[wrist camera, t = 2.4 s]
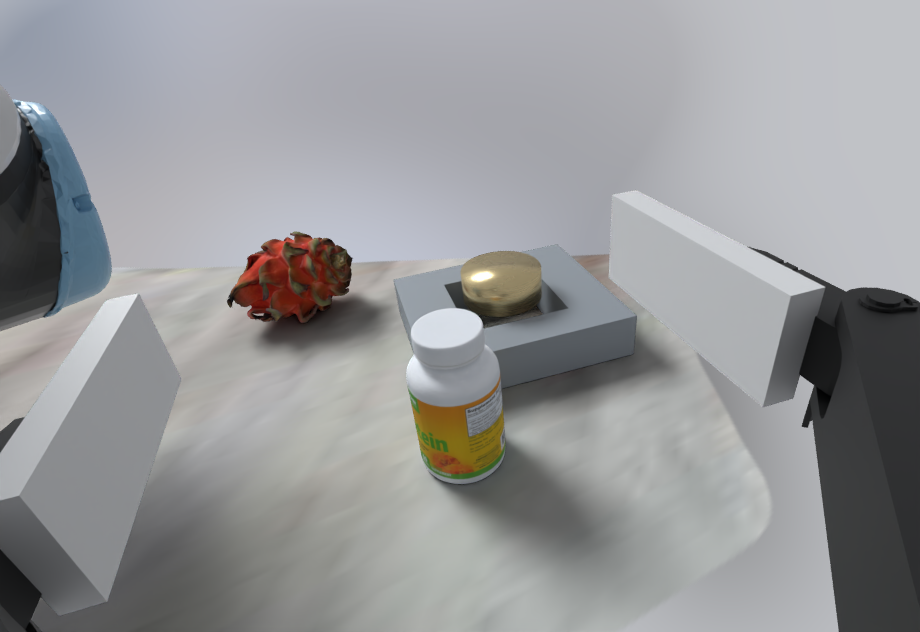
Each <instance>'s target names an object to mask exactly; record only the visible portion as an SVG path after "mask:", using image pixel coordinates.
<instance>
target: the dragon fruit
mask: <svg viewBox="0 0 920 632" xmlns="http://www.w3.org/2000/svg"><path fill="white" fill-rule="evenodd" d="M290 235H293V236H295V238H294V240H292V239H290V238H288V237H287V238H285V240H284V241H280V240H277V239H273V240H270V241H267V242H266V243H264V244H263V245H262V246H261V248H262V249H263V251H260V252H257V253H255V254H252V255H250V256H249V257H248V258H247V259H248V263H247V266H246V269H245V271H244V273H243V274H242V275H241V276H240V278H239V280H238V283H237V284H235V285H236V286H235V287H234V288H233V289H232V291H231V294H230V295H229V297H230V299H228V300H227V303H228V305H229V307H230V308H231V307H232V302H233V300H234V301H235V302H236V303H237V304H240V305H241V307H242V306H243V307H247V306H250V305H251V306H252V308H251V309H250V310H249V311H248V312H247V315H248V316H249V317H250V318H251V319H255V320H256V319H261V320H262V321H263V322H266V321H270V320H273V319H274V320H275V321H278V320H279V318H280V317H282V318H285V317H289V316H291V315H293V314H296V315H297V316H298V319H299V321H300V322H301V323H306V322H307V321H308V320H309V319H310V318H311V317H313V316H314V315H315V314H316V310H317V309H319V310H321V311H324V310H326V309H327V308H329V307H330V305H331V302H332V296H342V295H345V294H346V293H348V292H349V289H348V288H347V287H348V286H349V285H350V281H351V275H352V273H351V268H350V267H351V262H352V258H351V257H350V256H349V255H348V253H347V250H345V249H343V248H342V247H340V246H338V245H336V246H335V244H334V243H333V241H332V240H330V239H328V238H323V239H322V238H314V239H312V237H311V236H309V235H307V234H303V233H300V232H293V233H290ZM346 288H347V289H346ZM311 309H312V311H311V313H310V315H308V314H309V312H310V310H311ZM253 313H254V314H259V313H264V315H263V316H256V315H254V314H253ZM271 317H273V318H271Z"/></svg>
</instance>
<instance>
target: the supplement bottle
mask: <svg viewBox="0 0 920 632" xmlns="http://www.w3.org/2000/svg"><path fill="white" fill-rule="evenodd" d="M411 340H412V346H413V351H414V356H413V357H412V358H411V360H410V362H409V364H408V367H407V371H406V378H407V385H408V390H409V394H410V399H411V404H412V409H413V414H414V419H415V424H416V429H417V435H418V440H419V445H420V450H421V455H422V459H423V462H424V464H425V466H426V468H427V469H428V471H429V472H430V473H431V474H432V475H434V476H435V477H437V478H438V479H440V480H442V481H445V482H449V483H455V484H467V483H473V482H477V481H479V480H482V479H484V478H486V477H487V476H489V475H490V474H492V473H493V472H494V471H495V470H496V469H497V468H498V467H499V465H500V464H501V462H502V460H503V458H504V455H505V430H504V418H503V403H502V392H501V379H500V369H499V363H498V359H497V357H496V355H495V354H494V352H493V351H492V350H491V349H490V348H489V347H488V346H487V345H485V335H484V328H483V322H482V320H481V319H480V317H479V316H478V315H476V314H475V313H473V312H471V311H468V310H465V309H458V308H447V309H441V310H436V311H433V312H430V313H428V314H426V315H424V316H422V317H421V318H419V319H418V320H417V321H416V322H415V323H414V325H413V326H412V329H411Z"/></svg>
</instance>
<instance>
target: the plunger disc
mask: <svg viewBox="0 0 920 632" xmlns="http://www.w3.org/2000/svg"><path fill="white" fill-rule="evenodd" d="M460 273H461V282H462V290H463V299H464V303H465V305H466V306H467V307H468V308H469V309H470V310H471V311H473V312H475V313H478V314H481V315H485V316H491V317H506V316H513V315H517V314H521V313H524V312H526V311H528V310H530V309H532V308H534V307H535V306H536V305H537V304H538V303H539V302H540V300H541V298H542V277H541V264H540V262H539V261H538V260H537V259H536V258H534V257H533V256H531V255H528V254H525V253H521V252H514V251H498V252H491V253H486V254H482V255H479V256H477V257H474V258H472V259H471V260H469V261H467V262H466V263H465V264H464V265H463V266H462V268H461V272H460Z"/></svg>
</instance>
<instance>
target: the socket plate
mask: <svg viewBox="0 0 920 632" xmlns="http://www.w3.org/2000/svg"><path fill="white" fill-rule="evenodd" d="M521 253H525V254H528V255H531V256H533V257H534V258H536V259H537V260H538V261H539V262H540V264H541V277H542V298H541V300H540V302H539V303H538V304H537V305H536V306H537V307H538V308H539V310H540V311H541V312H542V313H543V315H539V316H534V317H530V318H526V319H522V320H518V321H514V322H509V323H505V324H501V325H497V326H493V327H489V328H484V335H485V345H487V346H488V347H489V348H490V349H491V350H492V351H493V352H494V354H495V355H496V357H497V359H498V363H499V369H500V379H501V389H502V388H506V387H510V386H513V385H517V384H521V383H525V382H529V381H533V380H536V379H540V378H544V377H548V376H552V375H555V374H559V373H563V372H567V371H571V370H574V369H578V368H582V367H586V366H590V365H594V364H597V363H601V362H605V361H609V360H613V359H616V358H620V357H624V356H628V355H632V354H633V353H634V342H635V331H636V320H637V315H636V314H634V313H633V312H632V311H631V310H630V309H629V308H628V307H627V306H626V305H624V304H623V303H622V302H621V301H620V300H619V299H618V298H617V297H616V296H614V295H613V294H612V293H611V292H610V291H609V290H608V289H607V288H606V287H604V286H603V285H602V284H601V283H600V282H599V281H598V280H597V279H595V278H594V277H593V276H592V275H591V274H590V273H589V272H588V271H587V270H585V269H584V268H583V267H582V266H581V265H580V264H579V263H578V262H577V261H575V260H574V259H573V258H572V257H571V256H570V255H569V254H568V253H567V252H565V251H564V250H563V249H562V248H561V247H560V246H559V245H558V244H556V245H551V246H547V247H542V248H538V249H533V250H528V251H524V252H521ZM462 266H463V265H459V266H454V267H450V268H445V269H440V270H436V271H431V272H427V273H422V274H417V275H413V276H408V277H404V278H399V279H394V285H395V290H396V295H397V300H398V306H399V311H400V314H401V317H402V320H403V323H404V326H405V329H406V332H407V335H408V338H409V341H410V344H411V347H412V350H413V346H412V340H411V329H412V326H413V325H414V323H415V322H416V321H417V320H418V319H419V318H421V317H422V316H424V315H426V314H428V313H430V312H433V311H436V310H441V309H447V308H458V309H465V310H468V311H471V310H470V309H469V308H468V307H467V306H466V305H465V303H464V299H463V290H462V282H461V273H460V272H461V268H462ZM471 312H473V311H471ZM473 313H474V312H473ZM413 353H414V351H413Z"/></svg>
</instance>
